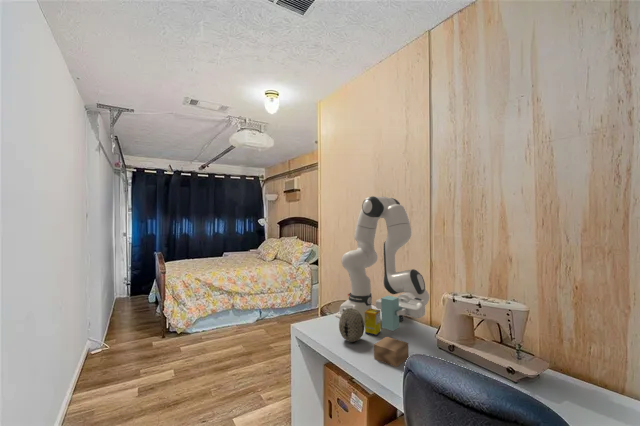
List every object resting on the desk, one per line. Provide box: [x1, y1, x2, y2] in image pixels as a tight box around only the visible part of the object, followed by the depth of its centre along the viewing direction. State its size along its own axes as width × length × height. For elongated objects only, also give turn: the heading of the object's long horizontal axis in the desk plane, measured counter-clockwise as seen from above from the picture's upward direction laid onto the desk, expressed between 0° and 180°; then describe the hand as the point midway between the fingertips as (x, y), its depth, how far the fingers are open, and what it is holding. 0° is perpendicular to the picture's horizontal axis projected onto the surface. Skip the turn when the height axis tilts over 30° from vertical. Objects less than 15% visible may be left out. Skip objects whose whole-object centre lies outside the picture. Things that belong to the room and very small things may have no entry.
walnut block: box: [373, 336, 409, 368], centre depth 118 cm, size 10×10×6 cm
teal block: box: [380, 295, 400, 332], centre depth 118 cm, size 5×5×12 cm
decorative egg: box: [338, 308, 365, 343], centre depth 135 cm, size 12×12×15 cm
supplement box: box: [364, 308, 382, 337], centre depth 143 cm, size 6×6×11 cm
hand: (389, 311), depth 117 cm, fingers closed on teal block, 5 cm apart
